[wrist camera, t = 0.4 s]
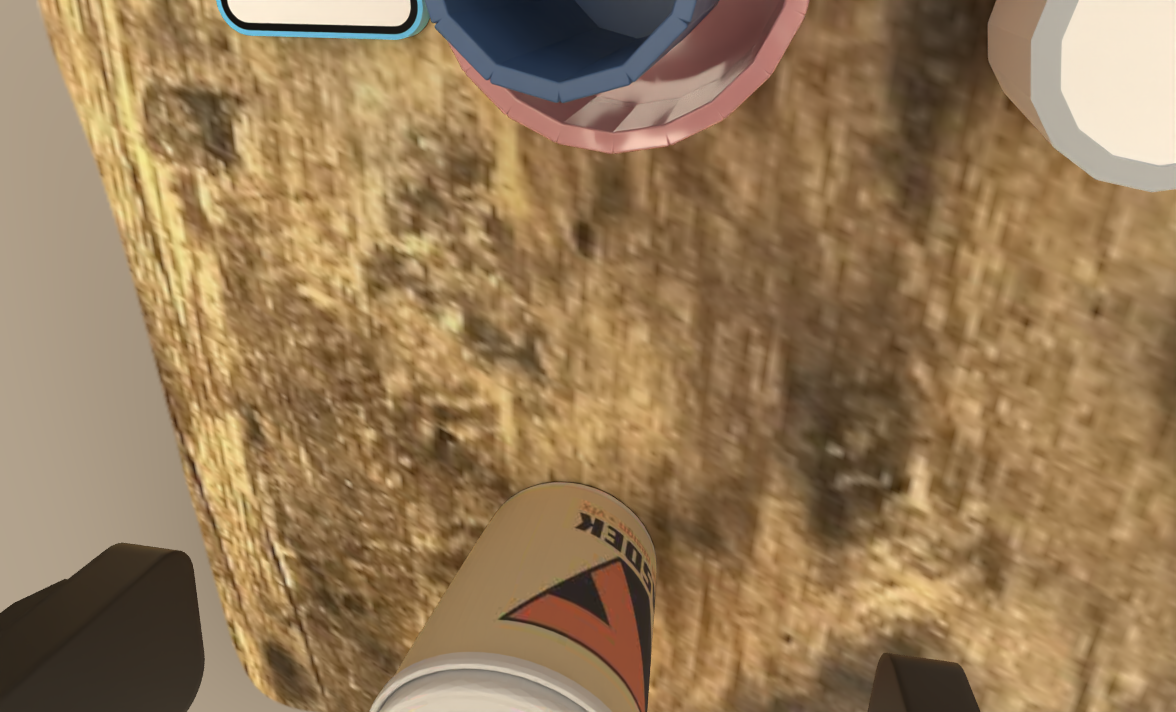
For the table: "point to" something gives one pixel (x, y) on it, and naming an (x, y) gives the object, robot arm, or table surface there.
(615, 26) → the blue cup
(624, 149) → the pink cup
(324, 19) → the smartphone
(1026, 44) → the white cylinder
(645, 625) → the coffee cup
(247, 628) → the table surface
